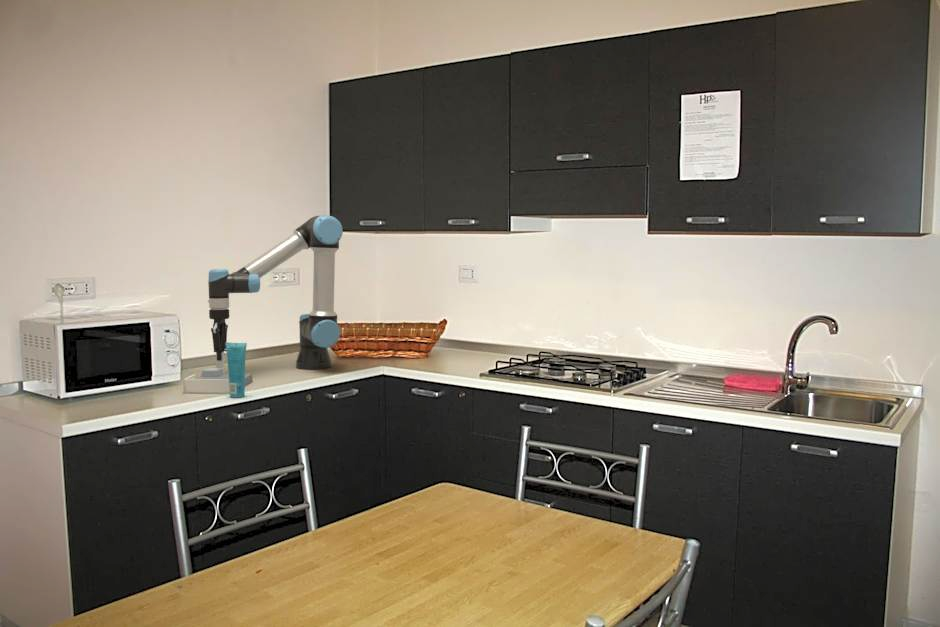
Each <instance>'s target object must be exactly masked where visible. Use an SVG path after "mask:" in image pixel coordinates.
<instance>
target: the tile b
mask: <svg viewBox="0 0 940 627" xmlns="http://www.w3.org/2000/svg"><path fill="white" fill-rule="evenodd" d="M223 371H224V369H223V368H217V367H206V368H203V369H201V376H202V377H219V376H221V375H223V374H224V372H223Z"/></svg>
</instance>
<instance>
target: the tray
mask: <svg viewBox="0 0 940 627" xmlns="http://www.w3.org/2000/svg"><path fill="white" fill-rule="evenodd" d="M196 378H197V373H196V374H195V373H194V374H192V375H189V376H187V377H185V378H182V386H183V388H182V389H183V394H217V393H221V394H223V395H224V394H226V395H228V394H229V395H230V387H229V379H196ZM221 394H220V395H221Z"/></svg>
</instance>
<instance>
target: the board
mask: <svg viewBox="0 0 940 627" xmlns="http://www.w3.org/2000/svg"><path fill="white" fill-rule="evenodd" d="M196 379H229V373H223V375H221V376H219V377H202V375H201V376H198V377H196ZM251 383H253V373H245V387H246V386H248V385H249V384H251Z"/></svg>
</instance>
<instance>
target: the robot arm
mask: <svg viewBox="0 0 940 627" xmlns="http://www.w3.org/2000/svg"><path fill="white" fill-rule="evenodd" d="M343 233H344V232H343V226H342V224H341V221H339V219H337V218H336V217H334V216H331V215H328V214H323V215H315V216H312V217H310V218H308V220H306V221H305V222H304V223H303V224H301V225H299V226H298V227H297V228H296V229H294V230H293V233H292V234H290V236H288V237H287V238H285V239H284V240H282V241H280V242H278V243H277V244H276V245H274V246H273V247H271V248H270V249H269V250H267V251H266V252H264V253H262V254H261V255H259V256H258V257H256V258H255V259H254V260H252V261H251V262H248V263H247V264H246V265H244V266H243V267H242V268H240V269H239V270H237V271H234V272H232V273H229V269H225V268H222V269H221V268H218V269H217V268H214V269H210V270H209V271H208V280H207V282H208V284H207V285H208V300H207V303H208V305H209V306H208V307H209V311H208V312H209V313H208V315H209V317H208V318H209V319H210V320H213V323H212V327H211V328H210V331H211V336H212V337H211V338H212V343H213V344H212V345H213V353H215V354H216V355H215V356H216V357H215V358H216V362H215V363H216V367H215V368H223V370H224V369H225V366H226V365H225V352H226V345H225V343H226V342H227V341H228V340H227V339H228V338H227V337H228V327H229V324H227V323H226V320H229V319H230V309H229V308H230V294H252V293H259V292H260V289H261V278H263V277H264V276H265V275H267V274H268V273H270V272H271V271H273V270H274V269H275V268H278V267H279V266H280V265H281V264H283V263H285V262H286V261H288V260H290V259H291V258H292V257H294V256H295V255H297V254H298V253H300V252H301V251H302V250H309V249H310V250H312V252H313V275H312V276H313V278H312V279H313V280H312V282H313V283H312V284H313V285H312V289H313V291H312V310H311V311H309V313H303V314H300V316H299V321H298V323H299V350H298V351H299V352H298V354H297V357H296V361H295V368H296V369H302V370H323V369H329V368H332V366H333V365H332V363H333V362H332V359H331V355H330V353H329V350H328V348H331V347H332V346H334V345H335V344H336V343H337V342H338V341H339V340H340V336H341V328H340V326H339V324H338V314H337V313H336V312H335V276H336V275H335V273H336V270H335V269H336V266H335V265H336V263H335V262H336V252H337V251H338V250H339V249H340V240H341V238H342V236H343ZM227 343H228V342H227Z"/></svg>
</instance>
